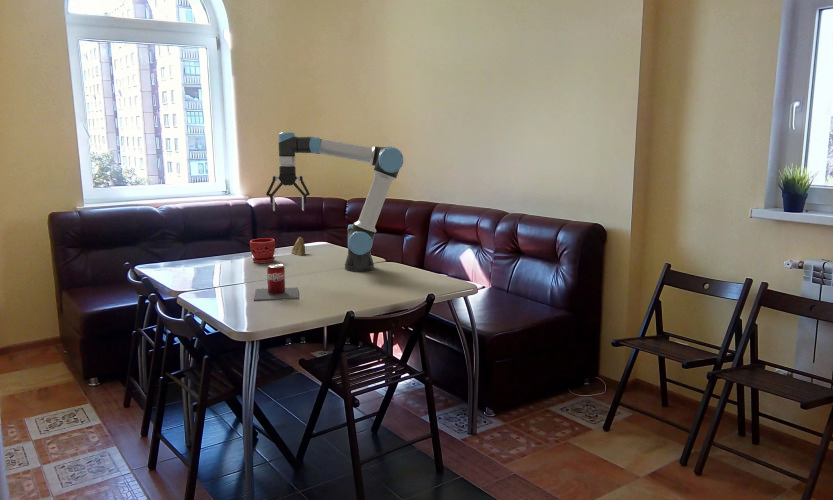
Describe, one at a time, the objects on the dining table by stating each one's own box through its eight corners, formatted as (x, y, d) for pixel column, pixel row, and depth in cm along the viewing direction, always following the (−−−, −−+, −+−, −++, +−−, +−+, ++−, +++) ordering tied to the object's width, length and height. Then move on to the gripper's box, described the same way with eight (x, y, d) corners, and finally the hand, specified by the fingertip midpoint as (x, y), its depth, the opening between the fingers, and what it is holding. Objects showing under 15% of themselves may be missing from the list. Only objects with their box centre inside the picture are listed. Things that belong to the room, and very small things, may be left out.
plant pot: (264, 258, 340) (263, 237, 338) (280, 261, 332) (280, 239, 330) (245, 262, 329) (244, 240, 327) (261, 265, 322) (260, 242, 320)
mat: (297, 288, 273) (297, 287, 273) (298, 299, 255) (298, 297, 255) (255, 290, 269) (255, 289, 269) (254, 300, 252) (253, 299, 252)
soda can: (269, 291, 265) (268, 263, 263) (286, 291, 266) (285, 263, 264) (266, 295, 258) (265, 267, 256) (284, 295, 259) (283, 267, 257)
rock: (309, 251, 348) (310, 246, 358) (300, 240, 346) (300, 235, 355) (294, 262, 349) (295, 257, 359) (284, 251, 346) (285, 246, 356)
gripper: (313, 165, 296) (314, 209, 299) (260, 165, 291) (261, 209, 294) (314, 166, 288) (315, 210, 292) (259, 165, 283) (261, 211, 287)
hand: (288, 210), depth 293 cm, fingers open, 13 cm apart
